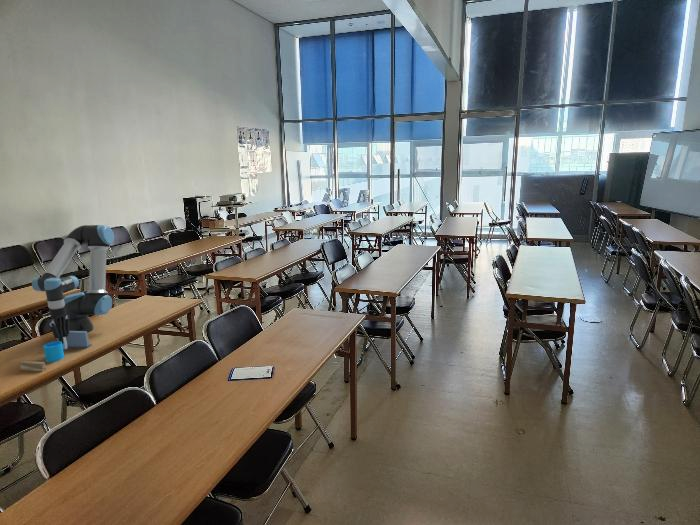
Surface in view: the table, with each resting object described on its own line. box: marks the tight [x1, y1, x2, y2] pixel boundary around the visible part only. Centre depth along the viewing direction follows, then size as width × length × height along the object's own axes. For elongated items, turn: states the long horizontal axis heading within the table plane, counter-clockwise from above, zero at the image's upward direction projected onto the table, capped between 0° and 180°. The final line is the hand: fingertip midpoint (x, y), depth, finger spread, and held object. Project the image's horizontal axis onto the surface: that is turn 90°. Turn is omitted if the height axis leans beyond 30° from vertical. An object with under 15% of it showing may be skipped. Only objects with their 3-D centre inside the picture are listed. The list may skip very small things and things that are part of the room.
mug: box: [43, 340, 65, 363], centre depth 236 cm, size 12×8×8 cm
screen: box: [56, 331, 93, 349], centre depth 250 cm, size 4×18×9 cm, turn 82°
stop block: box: [19, 360, 47, 372], centre depth 223 cm, size 2×12×4 cm, turn 82°
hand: (64, 348), depth 243 cm, fingers closed
